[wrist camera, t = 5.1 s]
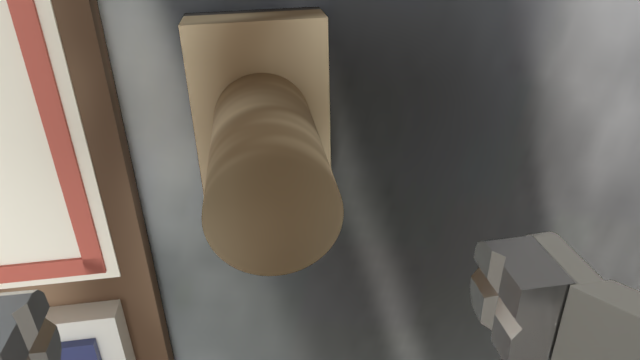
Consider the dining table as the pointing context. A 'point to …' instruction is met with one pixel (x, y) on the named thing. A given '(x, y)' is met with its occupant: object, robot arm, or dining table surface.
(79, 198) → the sheet
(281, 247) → the wooden stamp
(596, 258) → the dining table surface
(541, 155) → the dining table surface
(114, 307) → the ink pad
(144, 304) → the stamping board
